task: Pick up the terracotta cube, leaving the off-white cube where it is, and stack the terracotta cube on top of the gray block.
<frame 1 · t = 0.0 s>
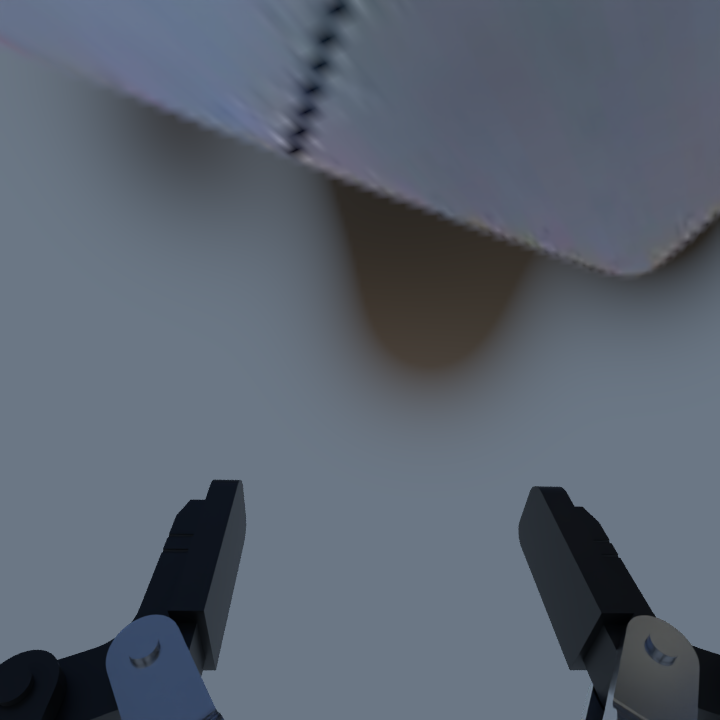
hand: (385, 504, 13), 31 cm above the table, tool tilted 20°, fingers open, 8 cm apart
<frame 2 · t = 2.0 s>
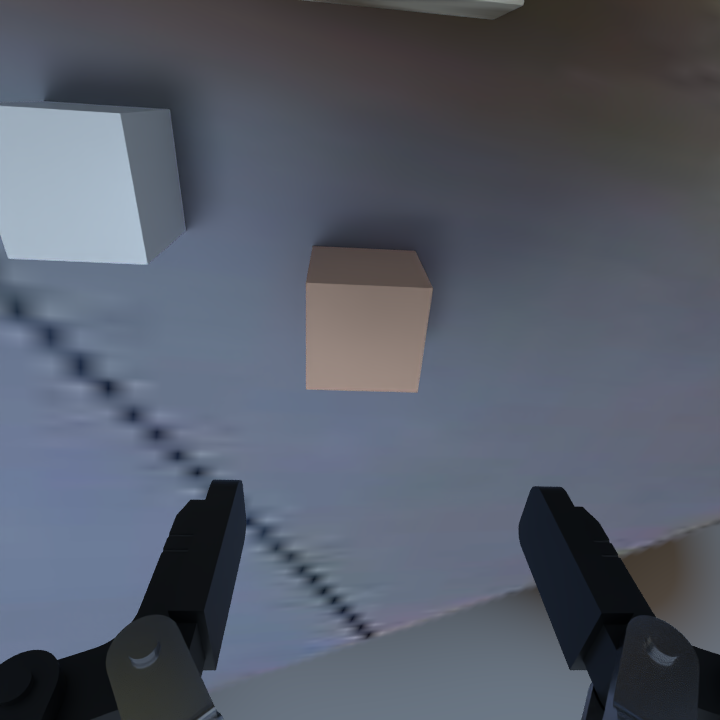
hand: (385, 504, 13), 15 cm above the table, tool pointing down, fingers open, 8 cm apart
terracotta cube: (361, 295, 26), on the table
offwhite cube: (120, 170, 22), on the table
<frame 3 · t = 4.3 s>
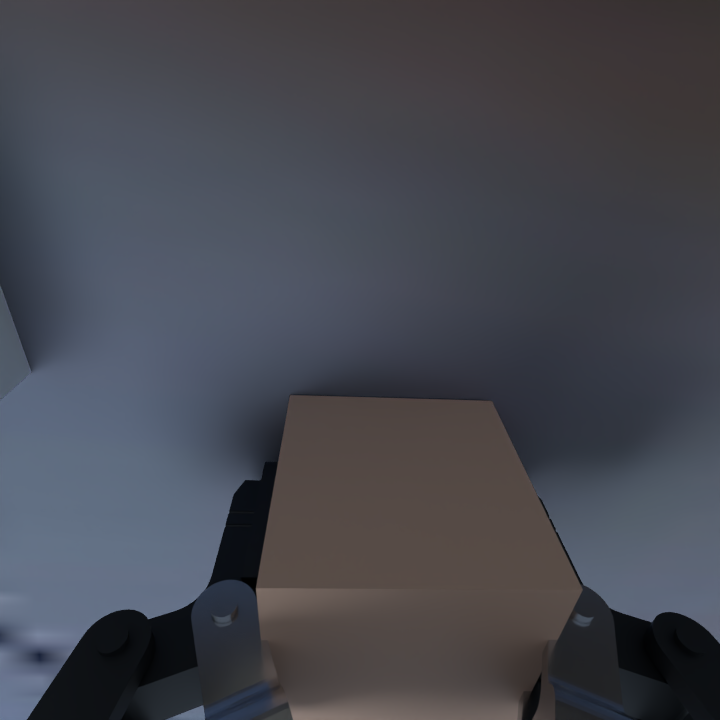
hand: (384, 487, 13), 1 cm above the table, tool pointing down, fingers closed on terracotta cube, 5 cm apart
terracotta cube: (383, 472, 14), on the table, touching gripper
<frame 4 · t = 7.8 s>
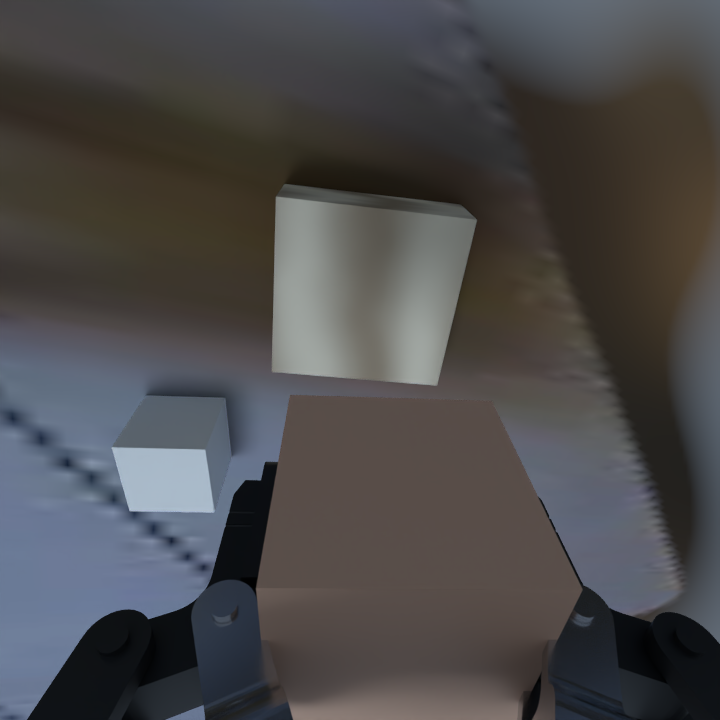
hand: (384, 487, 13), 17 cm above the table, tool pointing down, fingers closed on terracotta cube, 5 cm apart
gray block: (363, 276, 28), on the table
terracotta cube: (383, 472, 14), point 17 cm above the table, touching gripper
offwhite cube: (191, 426, 33), on the table
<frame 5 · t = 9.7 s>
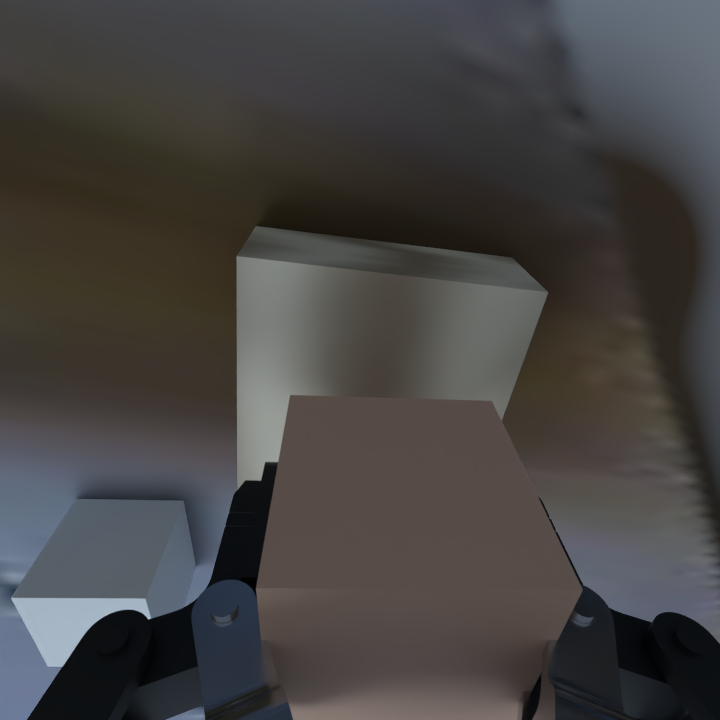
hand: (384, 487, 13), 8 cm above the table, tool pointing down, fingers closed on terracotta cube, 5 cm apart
gray block: (368, 350, 20), on the table
terracotta cube: (383, 472, 14), point 7 cm above the table, touching gripper
offwhite cube: (140, 533, 25), on the table
when the fingers open (5 cm above the table, at t = 11.3 s): terracotta cube drops 1 cm, resting on gray block.
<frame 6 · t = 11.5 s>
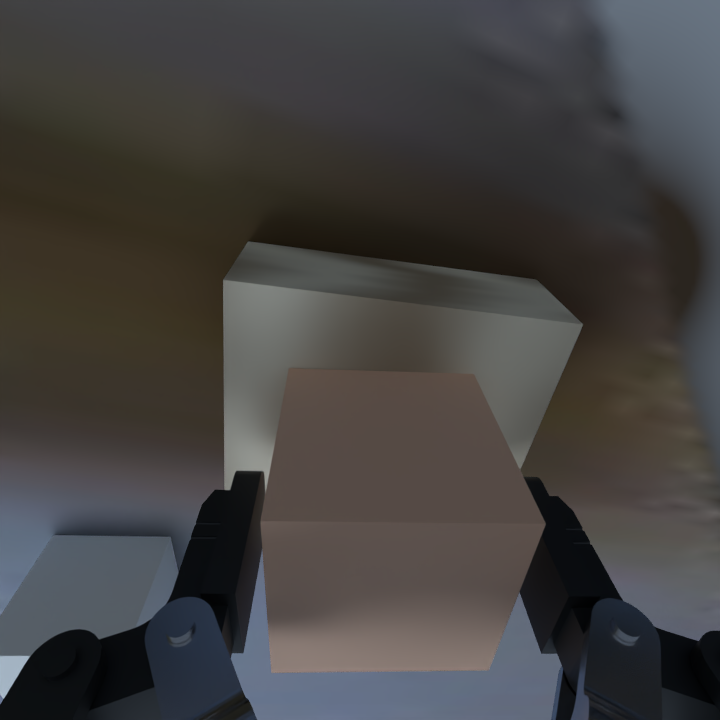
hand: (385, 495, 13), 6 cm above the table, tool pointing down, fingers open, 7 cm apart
gray block: (373, 377, 18), on the table, touching terracotta cube
terracotta cube: (375, 442, 15), point 4 cm above the table, touching gray block
offwhite cube: (124, 570, 23), on the table
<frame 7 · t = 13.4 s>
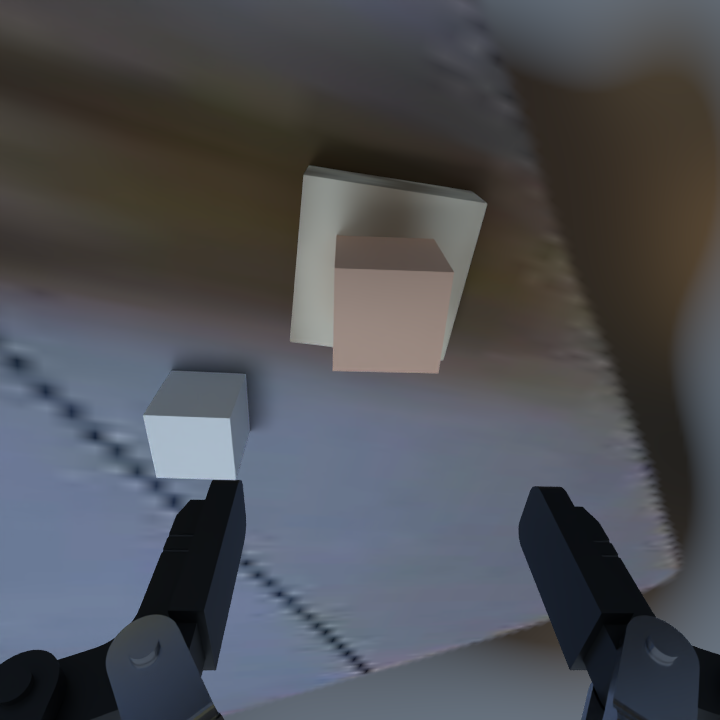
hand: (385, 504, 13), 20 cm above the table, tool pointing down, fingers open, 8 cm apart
gray block: (377, 256, 30), on the table, touching terracotta cube
terracotta cube: (382, 283, 27), point 4 cm above the table, touching gray block
offwhite cube: (212, 401, 35), on the table
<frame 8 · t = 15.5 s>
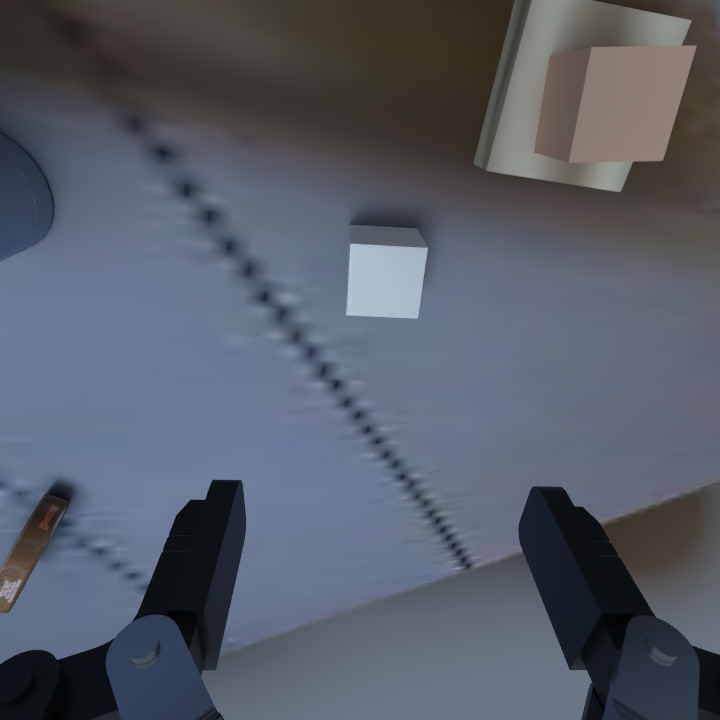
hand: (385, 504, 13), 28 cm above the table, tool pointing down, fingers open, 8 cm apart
tin: (49, 520, 53), on the table
gray block: (557, 99, 33), on the table
terracotta cube: (583, 105, 30), point 4 cm above the table
offwhite cube: (380, 259, 38), on the table
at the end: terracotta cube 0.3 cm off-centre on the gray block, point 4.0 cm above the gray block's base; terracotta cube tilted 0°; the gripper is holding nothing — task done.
